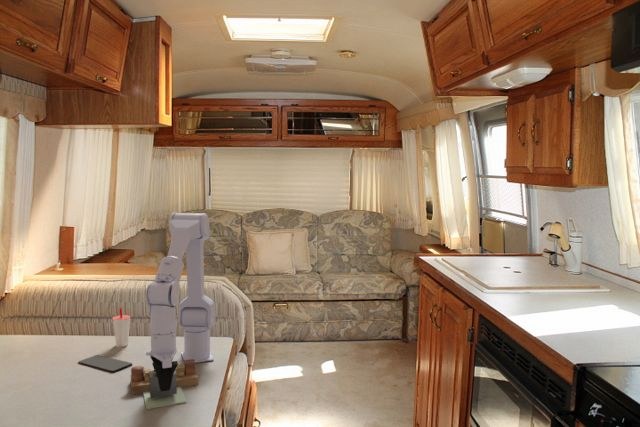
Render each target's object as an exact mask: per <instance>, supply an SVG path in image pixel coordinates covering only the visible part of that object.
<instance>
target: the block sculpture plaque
mask: <svg viewBox="0 0 640 427" xmlns="http://www.w3.org/2000/svg"><path fill="white" fill-rule="evenodd" d="M183 362H184V365H183V363H178V365H177V367H176V369H175V371H176V379H177V387H181V388H184V387H185V388H186V387H191V386H198V385H199V376H198V372H197V371H196V363H195V361H194V359H190V360H184V359H183ZM144 367H145V366H143V365H135V366H133V367H132V366H131V368H130V371H131V372H130V386H131V393H132V394H131V395H138V394H143V392H148V391H149V371H152V370H151V367H148V368H144Z"/></svg>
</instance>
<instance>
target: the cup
mask: <svg viewBox="0 0 640 427" xmlns="http://www.w3.org/2000/svg"><path fill="white" fill-rule="evenodd" d="M122 308H123V307H120V308H119V315H115V316H113V317H112V319H111V320H112V323H113V324H112V325H113V331H114V339H115V346H116V347H117V348H124V347H127V346H128V345H129V338H130V336H129V335H130V325H131V324H130V323H131V316H130V315H127V314H123V309H122Z"/></svg>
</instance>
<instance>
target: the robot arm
mask: <svg viewBox="0 0 640 427" xmlns="http://www.w3.org/2000/svg"><path fill="white" fill-rule="evenodd" d="M210 229H211V228H210V218H209V216H208V215H207V213H205V212H202V213H196V212H195V213H191V212H189V213H188V212H187V213H186V212H185V213H184V212H183V213H182V212H179V213H178V212H172V213H171V214H170V216H169V218H168V230H169V233H170V236H171V241H170V244H169V248H168V249H169V250H168V252H167V256H165V257H163V258H162V259H161V260H160V264H159V266H158V270H157V272H156V275H155V277H154V278H155V279H154V281H153V282H152V283H150V284H148V286H147V288H146V291H145V303H146V305H147V312H148V314H150V349H146V351H145V356H149V358H150V359H151V361H152V363H151V364H152V365H151V366H152V367H153V370H155V371H156V373H157V376H158V381H159V387H160V390H161V392H162V391H168V390H170V388H171V383H172V378H173V374H174V371H175V369H176V368H177V365H178V364H179V362H178V360H174V357H175V356H176V354H177V351H178V348H177V339H176V338H177V330H176V329H177V328H176V323H178V325H179V326H180V328H182V331H184V333H183V334H184V336H183V337H184V338H183V341H184V344H183V346H184V349H183V350H184V351H181V352H180V354H181V357H182V359H183V361H184V360H190V359H194V361H195V364H196V363H203V362H204V363H205V362H209V361H214V356H213V355H212V354H211V332H210V331H211V329H212V328H213V327H214V326H215V323H216V319H217V318H216V317H217V316H216V314H217V312H216V309H215V308H216V307H215V302H214V300H213V299H212V298H210V297H209V296H207V295H206V294H205V266H204V265H205V263H204V262H205V259H204V258H205V257H204V256H205V254H204V251H205V250H204V246H205V245H204V244H205V241H207V240H210V236H211V235H210V234H211V232H210V231H211V230H210ZM185 254H186V279H187V280H186V282H187V283H186V288H187V292H186V293H187V296H186V297H185V298H183V299H182V300H181V301H180V302H179V298H180V289H181V285H180V281H181V279H182V275H183V272H184V268H185V264H184V262H183V258H184V256H185ZM178 302H179V305H178V313H177V322H176V306H177V304H178Z"/></svg>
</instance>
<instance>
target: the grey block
mask: <svg viewBox="0 0 640 427" xmlns="http://www.w3.org/2000/svg"><path fill="white" fill-rule="evenodd" d="M149 393H150V398H155V397H161V396H167V395H174V394H177V379H176V371H174V374H173V378H172V383H171V388H170V390H168V391H162V392H161V390H160V387H159V381H158V376H157V373H156V371H155V369H153V370H151V371H149Z"/></svg>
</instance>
